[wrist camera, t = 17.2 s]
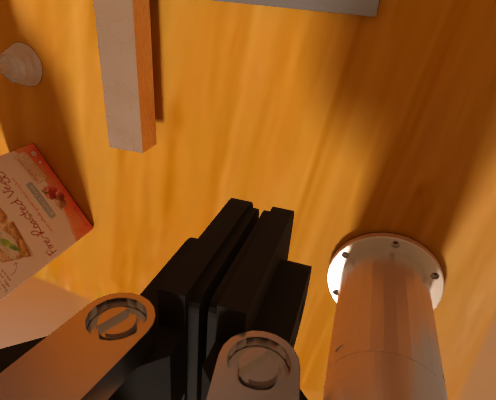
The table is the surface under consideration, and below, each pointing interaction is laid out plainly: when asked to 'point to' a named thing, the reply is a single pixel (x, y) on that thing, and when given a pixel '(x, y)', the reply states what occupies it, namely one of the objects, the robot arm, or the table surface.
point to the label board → (321, 5)
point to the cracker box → (33, 217)
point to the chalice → (21, 65)
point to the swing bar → (127, 72)
